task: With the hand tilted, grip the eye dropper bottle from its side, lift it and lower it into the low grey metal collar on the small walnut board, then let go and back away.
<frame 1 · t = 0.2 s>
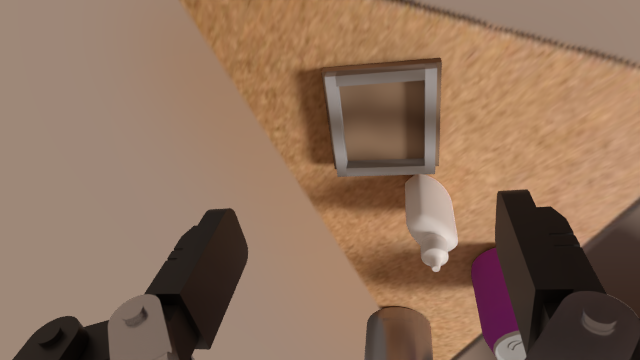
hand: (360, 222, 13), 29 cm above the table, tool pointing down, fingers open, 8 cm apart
rosette stand: (383, 115, 42), on the table
beverage can: (502, 263, 50), on the table
eye dropper bottle: (427, 189, 46), on the table
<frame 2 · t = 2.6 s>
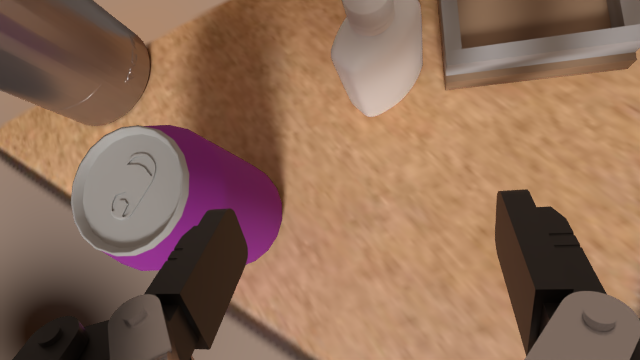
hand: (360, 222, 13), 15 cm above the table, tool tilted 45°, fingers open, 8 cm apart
rosette stand: (521, 5, 28), on the table
beverage can: (239, 216, 31), on the table
eye dropper bottle: (387, 85, 30), on the table
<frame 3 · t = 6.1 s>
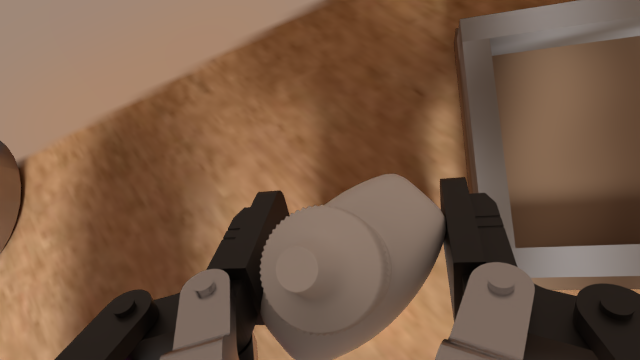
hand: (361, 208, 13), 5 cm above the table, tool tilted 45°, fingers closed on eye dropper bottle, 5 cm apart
rosette stand: (609, 146, 16), on the table
eye dropper bottle: (379, 266, 18), on the table, touching gripper
when the fingers open (8 cm above the table, at t = 11.2 s): eye dropper bottle drops 1 cm, resting on rosette stand.
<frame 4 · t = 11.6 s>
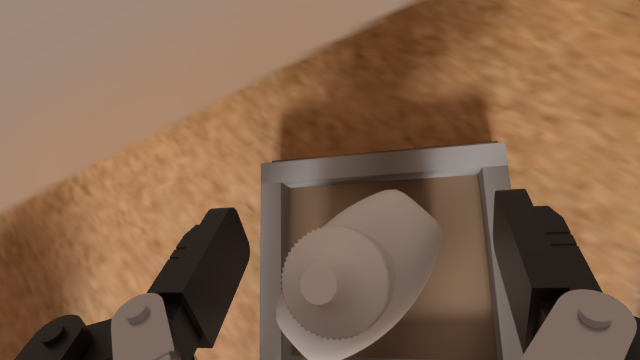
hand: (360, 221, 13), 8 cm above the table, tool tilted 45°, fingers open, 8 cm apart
rosette stand: (386, 266, 20), on the table
eye dropper bottle: (379, 269, 19), point 1 cm above the table, touching rosette stand
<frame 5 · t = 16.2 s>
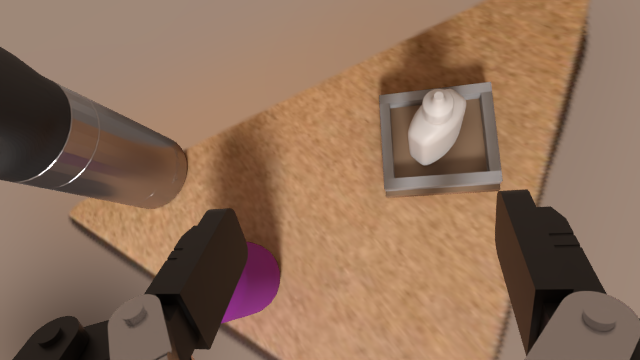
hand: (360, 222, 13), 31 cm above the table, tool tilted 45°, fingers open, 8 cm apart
rosette stand: (436, 143, 43), on the table
beverage can: (251, 277, 45), on the table
eye dropper bottle: (434, 142, 42), point 1 cm above the table, touching rosette stand
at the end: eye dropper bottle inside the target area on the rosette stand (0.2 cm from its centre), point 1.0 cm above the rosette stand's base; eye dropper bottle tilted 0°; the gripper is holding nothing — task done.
